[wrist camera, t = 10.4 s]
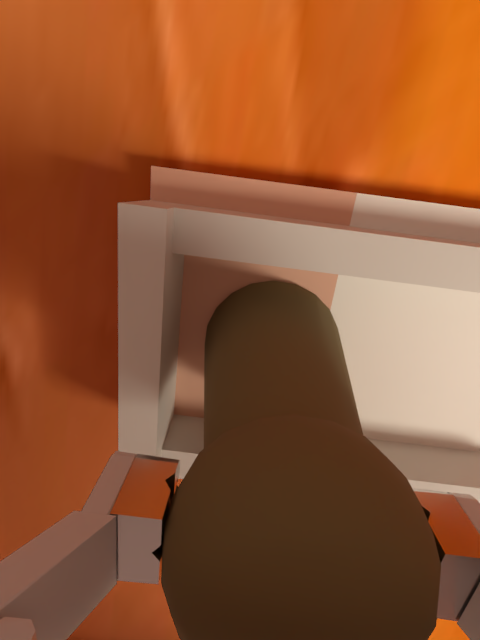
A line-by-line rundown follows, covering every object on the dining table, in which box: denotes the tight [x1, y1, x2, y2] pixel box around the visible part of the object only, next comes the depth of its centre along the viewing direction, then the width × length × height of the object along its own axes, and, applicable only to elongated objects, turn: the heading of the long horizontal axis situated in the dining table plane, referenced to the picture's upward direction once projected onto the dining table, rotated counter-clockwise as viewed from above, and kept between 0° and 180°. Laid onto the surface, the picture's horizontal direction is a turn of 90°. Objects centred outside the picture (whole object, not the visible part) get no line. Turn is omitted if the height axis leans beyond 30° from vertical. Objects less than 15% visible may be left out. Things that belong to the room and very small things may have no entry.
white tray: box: [118, 166, 480, 503], centre depth 15 cm, size 18×14×5 cm
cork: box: [161, 281, 441, 640], centre depth 10 cm, size 6×6×11 cm
